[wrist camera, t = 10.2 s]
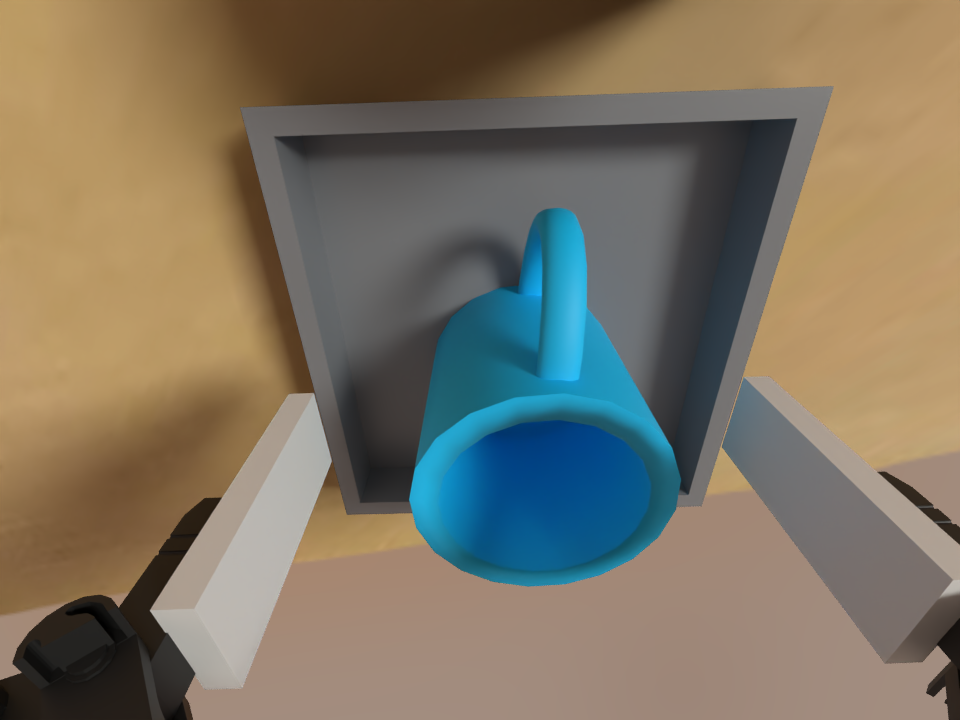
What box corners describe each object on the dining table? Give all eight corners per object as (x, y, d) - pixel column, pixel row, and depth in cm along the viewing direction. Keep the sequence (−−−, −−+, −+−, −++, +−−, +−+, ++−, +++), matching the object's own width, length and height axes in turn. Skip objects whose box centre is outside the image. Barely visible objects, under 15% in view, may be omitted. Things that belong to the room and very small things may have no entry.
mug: (591, 439, 23) (643, 590, 15) (433, 432, 22) (411, 582, 15) (649, 194, 17) (777, 255, 9) (434, 180, 16) (400, 234, 9)
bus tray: (361, 471, 24) (346, 514, 22) (279, 108, 16) (240, 107, 13) (677, 463, 24) (701, 506, 22) (774, 90, 15) (833, 86, 13)
